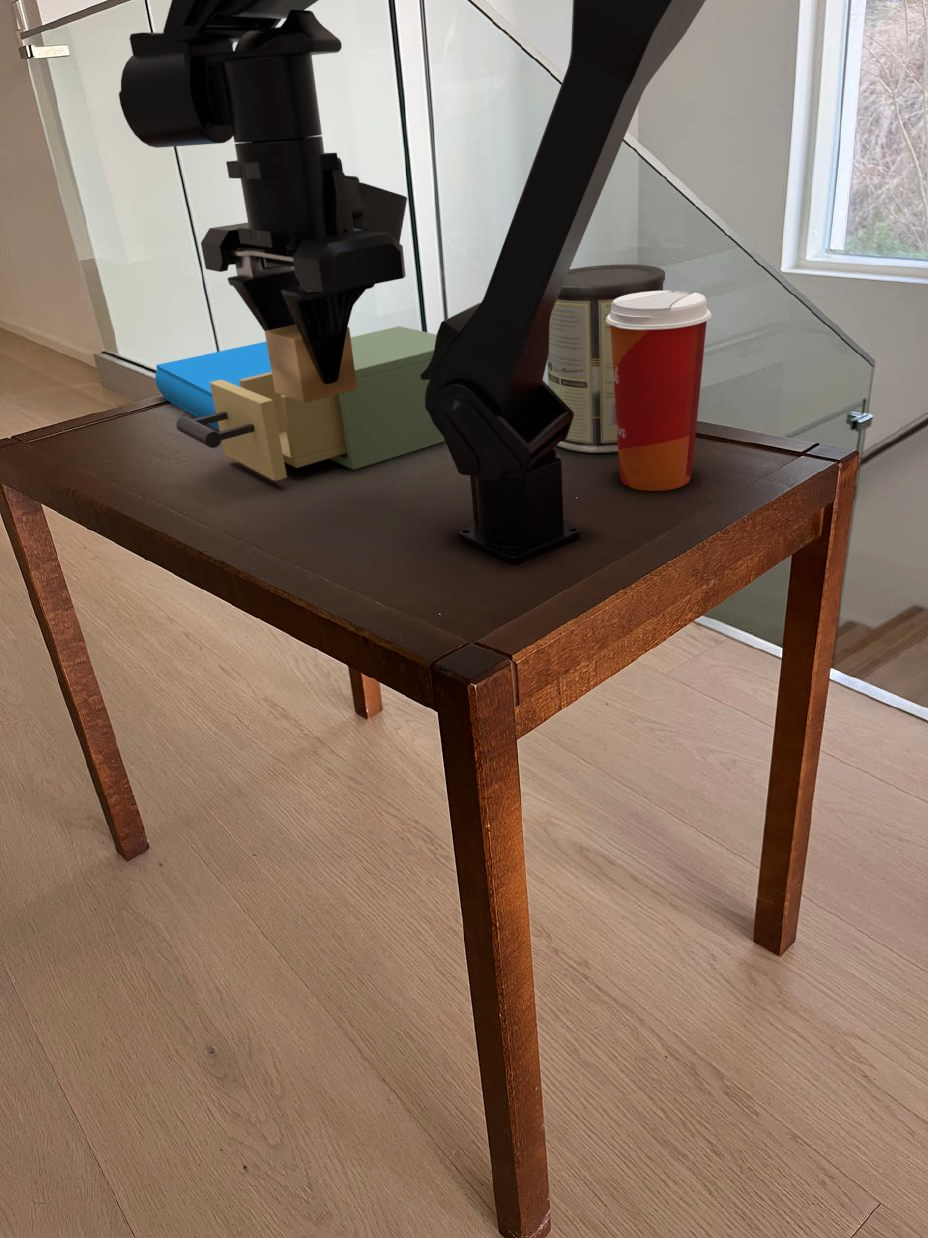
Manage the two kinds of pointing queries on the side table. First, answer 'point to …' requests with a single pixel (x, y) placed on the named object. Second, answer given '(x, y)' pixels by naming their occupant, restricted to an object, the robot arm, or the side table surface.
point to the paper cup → (657, 384)
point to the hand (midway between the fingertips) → (314, 377)
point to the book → (209, 376)
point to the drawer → (269, 426)
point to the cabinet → (387, 397)
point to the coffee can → (591, 349)
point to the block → (304, 367)
